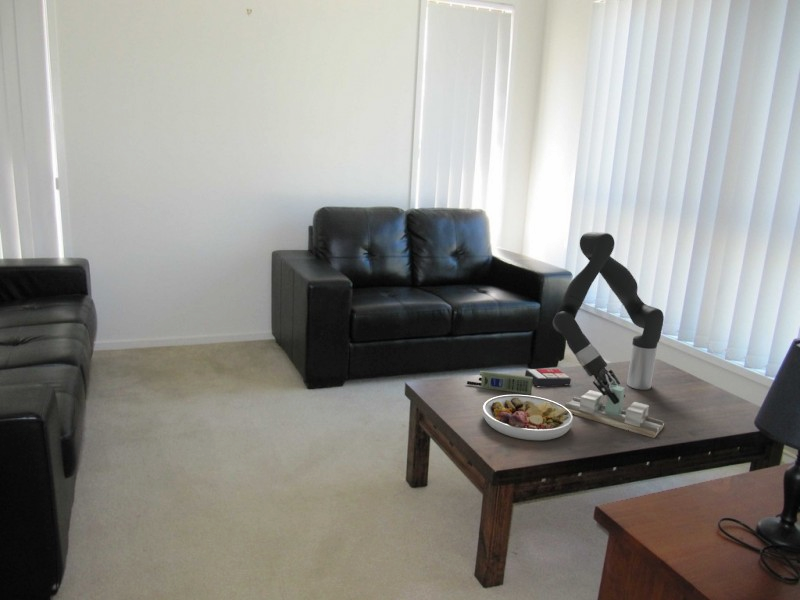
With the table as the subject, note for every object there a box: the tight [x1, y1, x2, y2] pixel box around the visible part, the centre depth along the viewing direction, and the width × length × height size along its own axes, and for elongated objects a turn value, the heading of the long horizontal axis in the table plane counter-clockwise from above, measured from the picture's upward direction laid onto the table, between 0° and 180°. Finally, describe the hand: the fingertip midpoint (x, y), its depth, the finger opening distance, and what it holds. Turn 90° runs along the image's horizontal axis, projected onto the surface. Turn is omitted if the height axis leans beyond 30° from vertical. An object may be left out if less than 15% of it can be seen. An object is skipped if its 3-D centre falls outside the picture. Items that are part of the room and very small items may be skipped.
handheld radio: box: [466, 370, 533, 395], centre depth 245 cm, size 7×3×25 cm
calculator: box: [524, 368, 572, 387], centre depth 257 cm, size 11×4×15 cm
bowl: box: [482, 394, 574, 441], centre depth 214 cm, size 30×30×8 cm
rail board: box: [564, 389, 665, 439], centre depth 222 cm, size 12×32×7 cm, turn 53°
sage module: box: [605, 384, 626, 417], centre depth 221 cm, size 4×4×10 cm
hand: (620, 400), depth 220 cm, fingers open, 5 cm apart
